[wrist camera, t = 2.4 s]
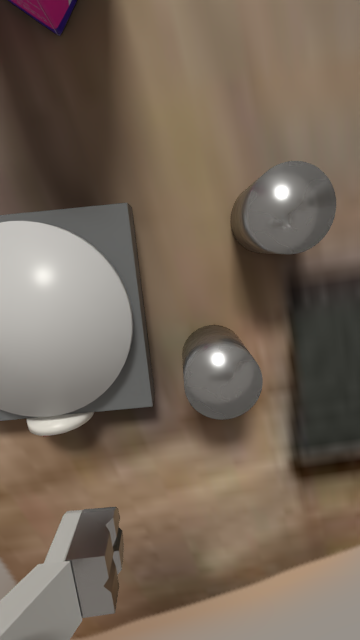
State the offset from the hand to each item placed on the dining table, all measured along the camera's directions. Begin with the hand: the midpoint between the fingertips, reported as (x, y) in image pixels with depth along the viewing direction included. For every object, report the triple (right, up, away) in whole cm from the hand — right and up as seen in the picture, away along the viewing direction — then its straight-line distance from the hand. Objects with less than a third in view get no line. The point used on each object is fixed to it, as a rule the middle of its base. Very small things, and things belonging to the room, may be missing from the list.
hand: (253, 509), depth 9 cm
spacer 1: (0, +3, +13) cm, 13 cm away
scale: (-11, +6, +13) cm, 18 cm away
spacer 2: (+3, +12, +11) cm, 17 cm away
